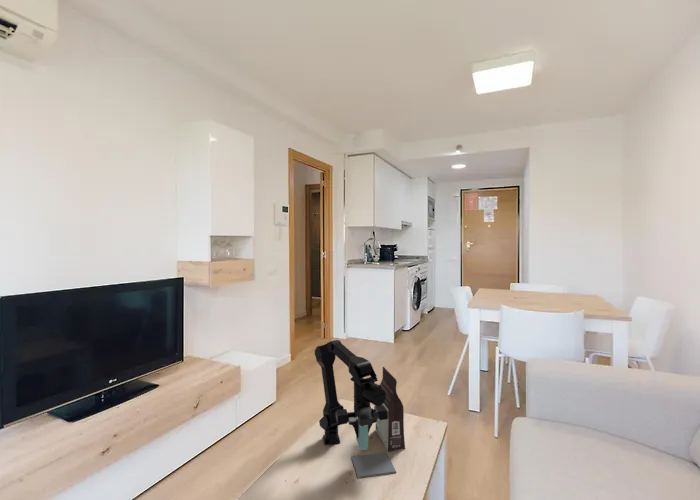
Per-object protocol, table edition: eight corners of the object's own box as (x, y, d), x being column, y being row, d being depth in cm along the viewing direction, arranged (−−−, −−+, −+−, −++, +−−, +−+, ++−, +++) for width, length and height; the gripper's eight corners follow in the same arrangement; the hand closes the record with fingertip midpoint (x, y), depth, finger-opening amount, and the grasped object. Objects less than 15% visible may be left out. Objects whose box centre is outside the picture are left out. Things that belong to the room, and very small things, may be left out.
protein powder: (407, 448, 140) (407, 379, 139) (386, 452, 138) (386, 382, 137) (392, 427, 156) (391, 364, 155) (373, 430, 154) (372, 367, 153)
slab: (356, 439, 133) (355, 415, 132) (363, 438, 133) (363, 414, 133) (360, 450, 126) (359, 425, 125) (368, 449, 126) (368, 424, 126)
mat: (351, 457, 135) (351, 455, 135) (386, 452, 138) (386, 451, 138) (357, 478, 123) (357, 476, 123) (396, 472, 126) (396, 471, 126)
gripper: (339, 408, 119) (340, 453, 120) (392, 403, 123) (392, 447, 123) (335, 394, 130) (335, 435, 131) (383, 389, 133) (384, 429, 134)
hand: (361, 437), depth 129 cm, fingers closed on slab, 3 cm apart
